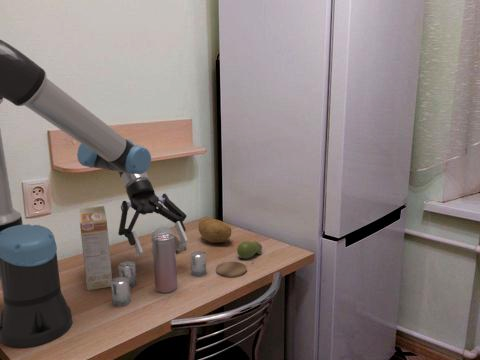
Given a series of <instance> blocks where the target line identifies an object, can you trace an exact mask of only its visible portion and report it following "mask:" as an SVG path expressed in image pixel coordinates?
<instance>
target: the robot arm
mask: <svg viewBox="0 0 480 360" xmlns="http://www.w3.org/2000/svg"><path fill="white" fill-rule="evenodd" d="M4 99H5V100H7V101H9V102H10V103H12V104H13V105H14V106H17V107H23V106H25V107H26V108H28V110H29V109H30V110H31V111H32V112H33V113H36V115H38V116H39V117H41V118H43V119H44V120H46V121H47V122H49V123H50V124H51V125H53V126H54V127H56V128H57V129H59V130H60V131H62V132H63V133H64V134H66V135H68V136H69V137H71V138H72V139H74V140H75V141H77V142H78V143H80V144H79V146H78V149H77V154H76V156H77V160H78V163H79V164H80V165H82V166H83V167H88V168H91V169H92V168H94V169H100V170H101V169H102V170H107V171H108V170H109V171H112V172H113V171H115V172H118V175H119V176H120V179H121V181H122V183H123V187H124V190H126V195H127V196H128V199H129V201H127V200H122V203H121V205H120V209H121V216H120V221H119V228H118V232H117V234H118V236H124V237H125V238H127V240H128V244H129V245H130V246H133V248H134V250H135V252H136V255H137V257H138V258H139V257H141V256H142V255H143V253H144V250H143V248H142V246H141V245H142V244H141V242H140V240H139V238H138V235H137V232H136V231H135V230H134V231H133V229H134V227H135V225H136V223H137V220H138V218H139V216H140V215H143V216H144V215H148V214H154V213H155V214H157V215H160V216H162V217H164V218H166V219H167V220H168V221H170V222H172V223H173V224H174V228H175V231H176V233H177V235H178V236H177V237H178V239H179V240H180V241H181V243H182V245H185V244H186V245H187V243H188V240H189V239H188V237H187V236H186V227H185V225H184V221H185V220H186V219H187V214H186V213H185V212H184V211H182V210H181V209H180V208H179V207H178V206H177V205H176V204H175V203H174V202H173V201H172V200H171V199H170V198H169V196H168V194H167V193H163V194H162V195H161V196H157V194H156V192H155V189H154V187H153V185H152V183H151V181H150V177H149V175H148V173H147V171H148V170H149V168H150V166H151V163H152V155H151V151H149V149H148V148H146V147H144V146H143V145H142V146H141V145H140V144H139V145H138V144H136V145H135V143H134V142H133V141H132V140H130V139H128V138H126V137H124V136H122V135H121V133H118V132H117V131H116V130H115V129H113V128H112V127H110V126H109V125H108V124H107V123H106V122H104V121H103V120H101V118H99V117H98V116H97V115H95V114H94V113H92V112H91V111H90V110H89V109H88V108H86V107H85V106H84V105H82V104H81V103H79V101H77V100H76V99H74V98H73V97H72V96H70V95H69V94H68V93H67V92H65V91H64V90H63V89H61V88H60V87H59V86H58V85H56V84H55V83H54V82H52V81H51V80H50V79H49V78H47V72H46V70H44V68H42V67H41V66H39V65H38V64H37V62H34V61H33V60H32V59H30V58H29V57H28V56H27V55H26V54H24V53H22V52H21V51H20V50H18V49H17V48H15V47H14V46H12V45H11V44H9V43H8V42H5V41H4V40H2V39H0V105H1V103H3V102H4ZM130 208H132V209H133V210H134V211H135V212H134V214H133V217H132V219H131V221H130V223H129V226H128V228H126V224H127V218H128V211H129V210H130ZM57 250H58V246H57V243H56V239H55V235H54V233H53V231H52V230H50V229H49V228H48V227H45V226H43V225H40V224H39V225H38V224H33V225H31V224H30V223H29V224H23V219H22V214H21V212H19V211H17V210H16V209H14V206H13V201H12V194H11V188H10V182H9V176H8V169H7V162H6V156H5V151H4V143H3V137H2V131H1V129H0V285H1V291H2V298H3V308H2V311H1V317H0V342H1V343H2V344H3V345H6V346H8V347H11V348H28V347H35V346H38V345H43V344H46V343H48V342H51V341H53V340H56V339H57V338H59V337H61V336H63V335H64V334H65V333H67V332H68V331H69V330H70V328H71V326H72V324H73V313H72V309H71V308H70V306H69V305H68V303H67V301H66V299H65V297H64V295H63V293H62V289H61V287H62V286H61V281H60V280H61V279H60V271H59V265H58V264H59V261H58V254H57V253H58V252H57Z"/></svg>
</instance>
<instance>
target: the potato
mask: <svg viewBox="0 0 480 360" xmlns="http://www.w3.org/2000/svg"><path fill="white" fill-rule="evenodd" d="M198 221H199V220H198ZM197 227H198V232H199V234H200V236H201V238H203V239H204V240H206V241H208V242H209V243H212V244H215V243H224V242H226V241H227V240H228V239H230V237H231V236H232V232H233V231H232V228H231V226H230V225H229V224H228V223H226V222H224V221H222V220H219V219H215V218H212V217H204V218H202V219H200V221H199V222H198V225H197Z"/></svg>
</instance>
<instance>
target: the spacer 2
mask: <svg viewBox="0 0 480 360" xmlns="http://www.w3.org/2000/svg"><path fill="white" fill-rule="evenodd" d="M190 273H191V275H192V276H193V277H199V278H200V277H204V276H205V275H206V274H207V255H206V252H204V251H201V250H200V251H193V252H191V253H190Z"/></svg>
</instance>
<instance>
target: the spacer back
mask: <svg viewBox="0 0 480 360" xmlns="http://www.w3.org/2000/svg"><path fill="white" fill-rule="evenodd" d="M118 273H119V274H118V275H119V276H118V277H127V278H129V286H130V289H131V288H134V287H136V286H137V275H136V263H135V261H131V260H127V261H123V262H120V263H119V264H118Z"/></svg>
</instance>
